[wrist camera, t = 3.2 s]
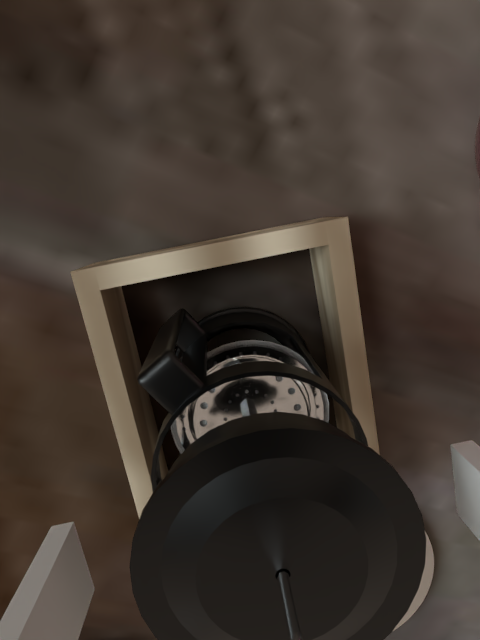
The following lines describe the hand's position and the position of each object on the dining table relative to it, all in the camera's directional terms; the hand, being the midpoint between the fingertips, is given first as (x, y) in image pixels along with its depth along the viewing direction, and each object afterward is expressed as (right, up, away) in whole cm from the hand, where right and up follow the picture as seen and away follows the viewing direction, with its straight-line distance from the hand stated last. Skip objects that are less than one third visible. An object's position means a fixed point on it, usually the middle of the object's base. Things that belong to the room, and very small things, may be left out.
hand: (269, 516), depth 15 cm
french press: (-1, +3, +15) cm, 15 cm away
